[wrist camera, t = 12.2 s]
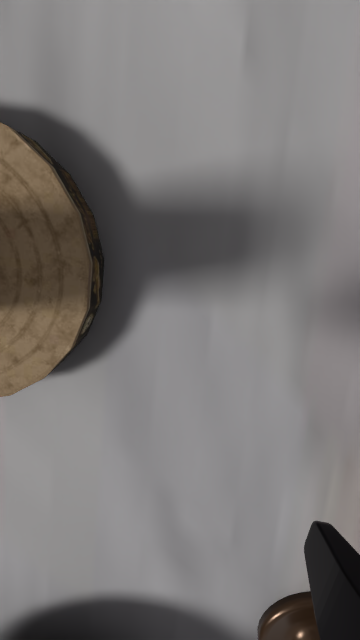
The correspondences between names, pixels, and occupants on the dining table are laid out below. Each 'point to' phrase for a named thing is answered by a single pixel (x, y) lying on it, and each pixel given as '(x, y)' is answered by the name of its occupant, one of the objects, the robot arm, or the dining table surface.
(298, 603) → the candlestick
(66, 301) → the ringed beige coaster
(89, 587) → the dining table surface
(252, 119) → the dining table surface
